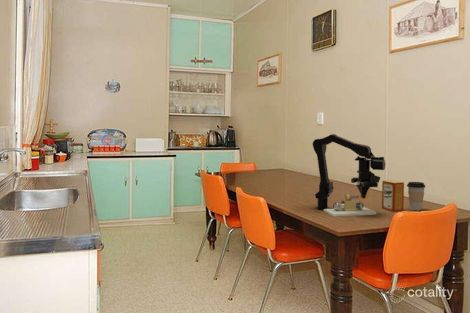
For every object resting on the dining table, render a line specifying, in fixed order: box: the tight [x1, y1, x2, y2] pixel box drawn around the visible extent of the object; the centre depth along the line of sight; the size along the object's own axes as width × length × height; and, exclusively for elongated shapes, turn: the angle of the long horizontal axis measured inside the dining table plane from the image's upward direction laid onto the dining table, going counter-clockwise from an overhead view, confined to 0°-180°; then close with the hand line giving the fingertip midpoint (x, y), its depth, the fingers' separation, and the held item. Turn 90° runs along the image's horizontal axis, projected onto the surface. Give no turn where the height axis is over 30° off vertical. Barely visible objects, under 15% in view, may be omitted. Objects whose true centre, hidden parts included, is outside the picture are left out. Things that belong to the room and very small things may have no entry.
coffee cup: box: [406, 181, 426, 212], centre depth 224 cm, size 9×9×15 cm
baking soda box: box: [381, 179, 405, 212], centre depth 225 cm, size 10×6×16 cm
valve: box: [332, 198, 365, 211], centre depth 219 cm, size 16×5×6 cm, turn 99°
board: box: [323, 206, 377, 218], centre depth 218 cm, size 13×24×1 cm, turn 99°
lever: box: [344, 193, 368, 200], centre depth 219 cm, size 12×3×2 cm, turn 92°
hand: (363, 198), depth 217 cm, fingers closed
